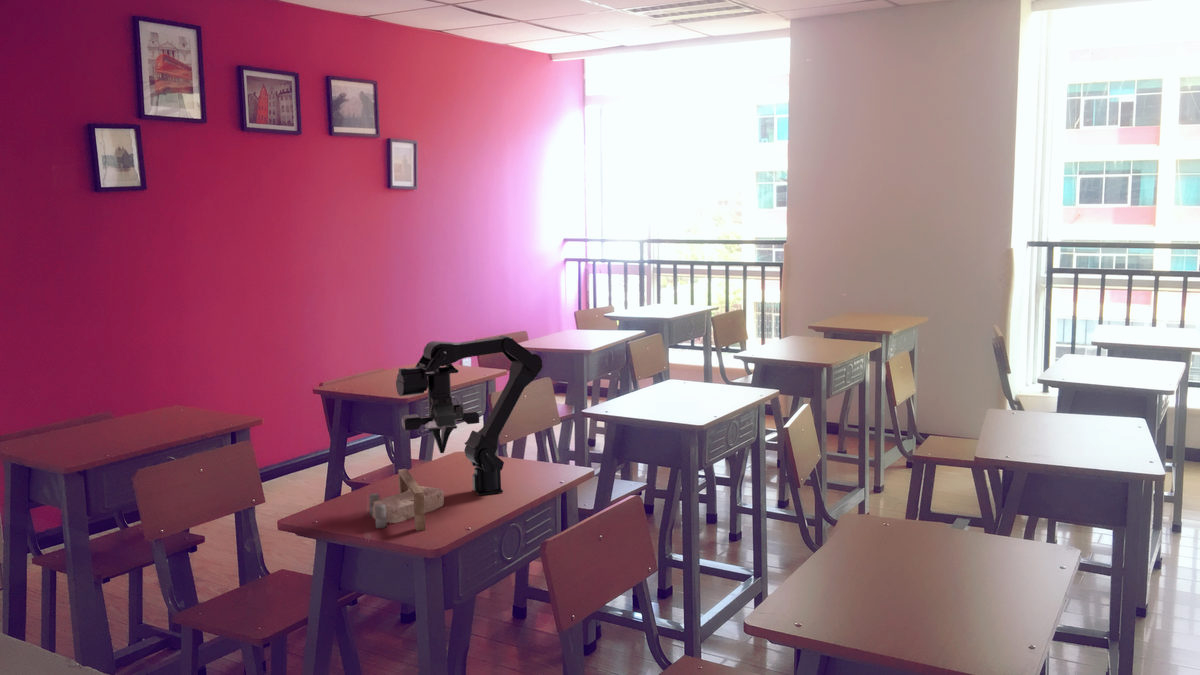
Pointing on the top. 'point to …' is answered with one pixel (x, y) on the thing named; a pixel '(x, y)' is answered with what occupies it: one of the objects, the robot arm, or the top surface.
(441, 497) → the brick
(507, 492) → the top surface
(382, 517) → the shelf frame
